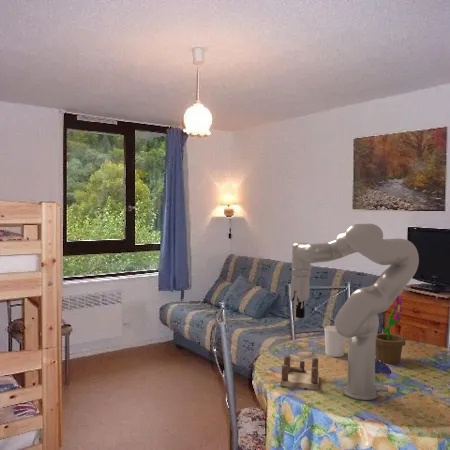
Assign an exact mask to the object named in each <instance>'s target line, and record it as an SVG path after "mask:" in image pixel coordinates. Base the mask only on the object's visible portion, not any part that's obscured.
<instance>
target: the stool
mask: <svg viewBox="0 0 450 450" xmlns="http://www.w3.org/2000/svg"><path fill="white" fill-rule="evenodd" d="M290 367H291V365H290V366H288V365H284V364H281V377H280V380H279V381H280V382H279V383H280V385H279V386H280V387H282V386H287V387H286V388H293V387H296V388H295V389H304V388H307V389H306V390H317V391H318V390H319V385H320V384H319V382H320V380H319V378H320V377H319V374H320V371H319V358H317V357H312V358H311V370H307V369H306V370H305V369H304V372H294V371H290Z"/></svg>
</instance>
